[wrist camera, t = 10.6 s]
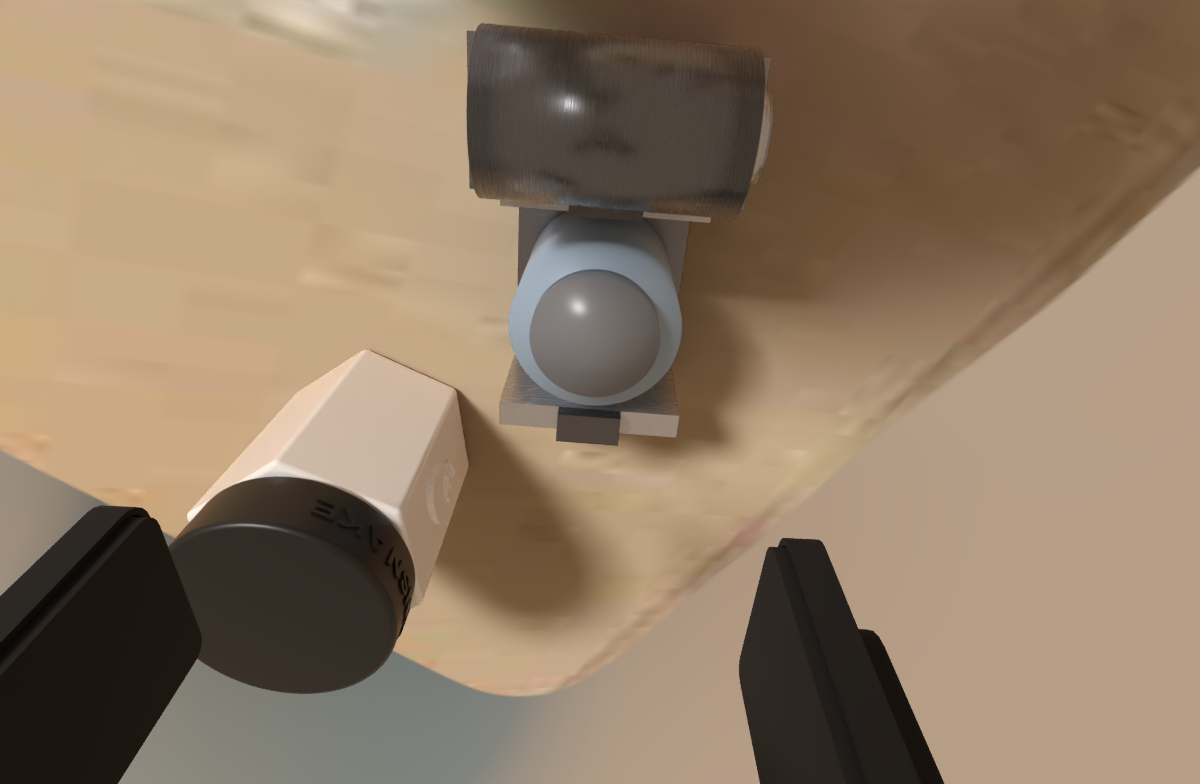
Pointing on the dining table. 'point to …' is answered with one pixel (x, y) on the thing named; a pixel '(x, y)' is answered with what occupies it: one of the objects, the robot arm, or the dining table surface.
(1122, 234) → the dining table surface
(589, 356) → the grey plastic cylinder
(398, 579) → the jar
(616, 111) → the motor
